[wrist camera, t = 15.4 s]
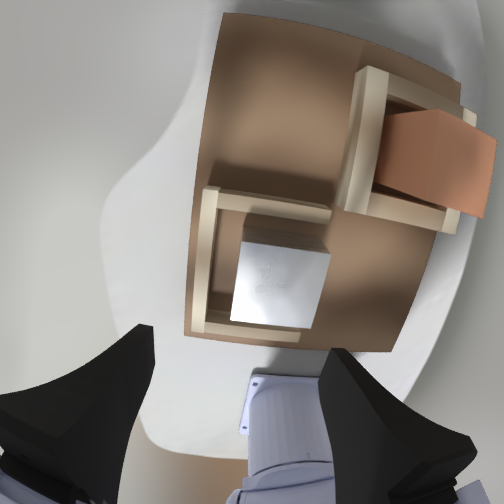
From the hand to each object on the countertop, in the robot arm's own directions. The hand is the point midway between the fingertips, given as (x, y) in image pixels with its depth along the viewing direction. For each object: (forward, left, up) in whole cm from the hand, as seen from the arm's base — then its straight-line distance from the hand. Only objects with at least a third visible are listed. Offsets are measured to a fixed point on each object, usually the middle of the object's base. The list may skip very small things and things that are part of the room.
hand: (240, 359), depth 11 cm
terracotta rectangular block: (+9, -9, -7) cm, 15 cm away
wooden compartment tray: (+6, -5, -10) cm, 12 cm away
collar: (+10, -9, -7) cm, 15 cm away
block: (+1, -2, -7) cm, 8 cm away
